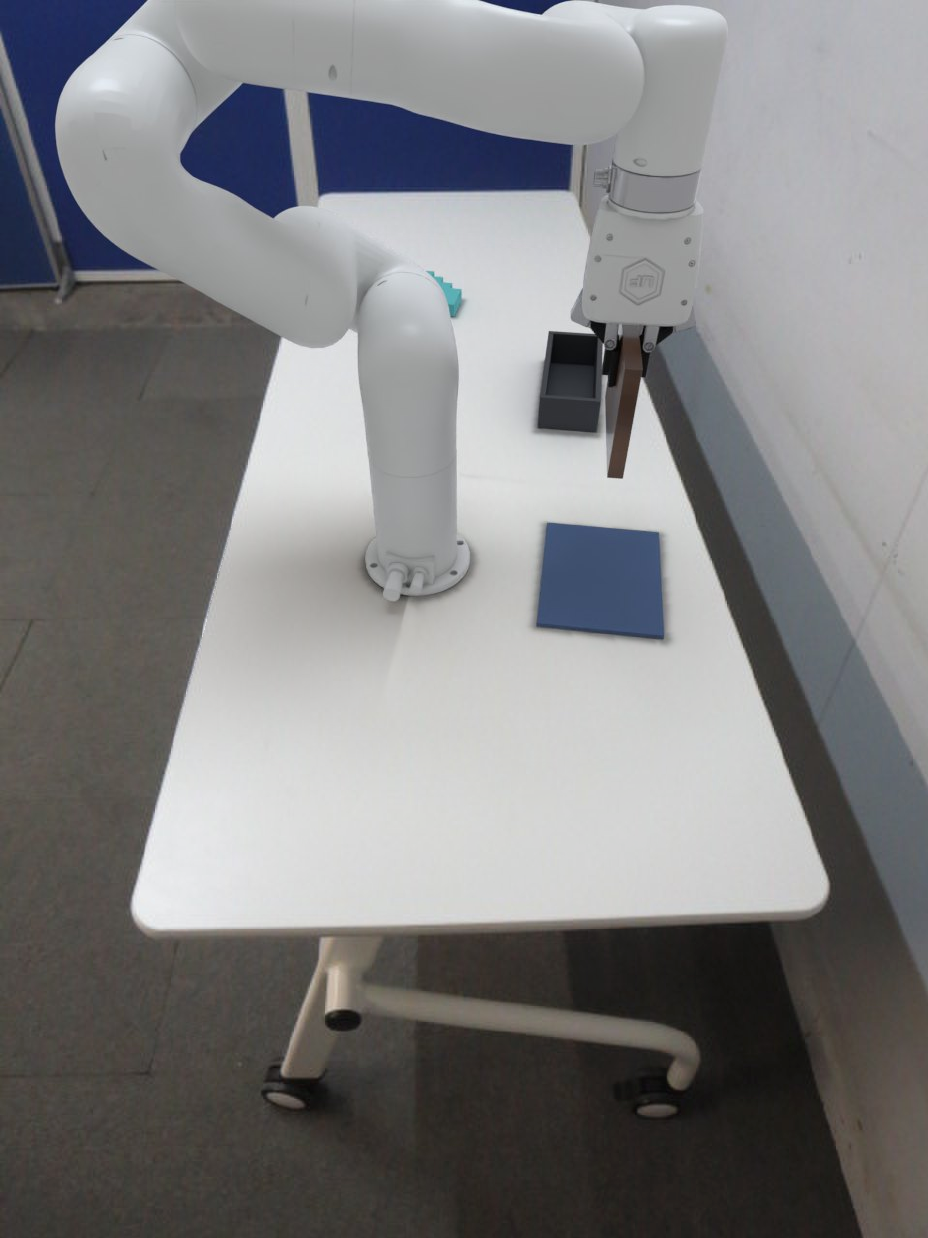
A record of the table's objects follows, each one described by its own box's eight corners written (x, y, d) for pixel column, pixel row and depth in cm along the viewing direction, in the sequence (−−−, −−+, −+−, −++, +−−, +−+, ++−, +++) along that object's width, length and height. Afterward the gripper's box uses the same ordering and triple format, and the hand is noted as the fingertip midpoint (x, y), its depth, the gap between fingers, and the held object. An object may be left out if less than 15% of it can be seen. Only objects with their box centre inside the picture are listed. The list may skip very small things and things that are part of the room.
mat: (663, 639, 88) (664, 635, 88) (536, 626, 89) (536, 623, 89) (658, 535, 101) (659, 531, 100) (546, 525, 102) (547, 522, 101)
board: (622, 479, 81) (642, 369, 73) (607, 477, 81) (624, 368, 73) (618, 397, 92) (635, 294, 84) (604, 396, 92) (620, 293, 84)
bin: (596, 435, 116) (600, 401, 112) (537, 431, 117) (539, 397, 113) (598, 366, 131) (603, 334, 127) (546, 363, 132) (548, 330, 128)
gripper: (561, 197, 67) (543, 395, 80) (752, 206, 66) (703, 405, 79) (563, 169, 72) (546, 359, 85) (740, 176, 71) (696, 368, 84)
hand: (622, 380), depth 82 cm, fingers closed on board, 1 cm apart
